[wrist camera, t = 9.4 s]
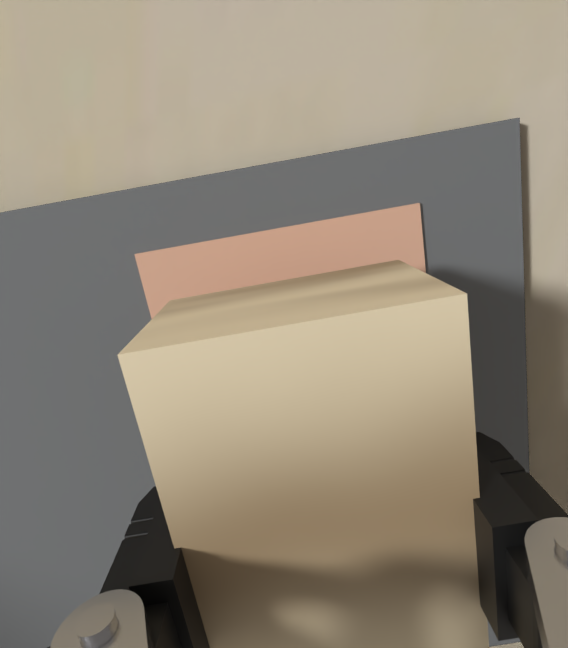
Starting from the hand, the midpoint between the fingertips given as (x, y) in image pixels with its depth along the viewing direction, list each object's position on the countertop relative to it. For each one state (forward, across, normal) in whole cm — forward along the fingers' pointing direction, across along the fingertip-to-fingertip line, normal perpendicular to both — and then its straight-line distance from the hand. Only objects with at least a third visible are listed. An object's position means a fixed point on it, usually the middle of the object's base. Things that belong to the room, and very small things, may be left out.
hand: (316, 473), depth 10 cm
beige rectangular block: (+1, 0, 0) cm, 1 cm away
